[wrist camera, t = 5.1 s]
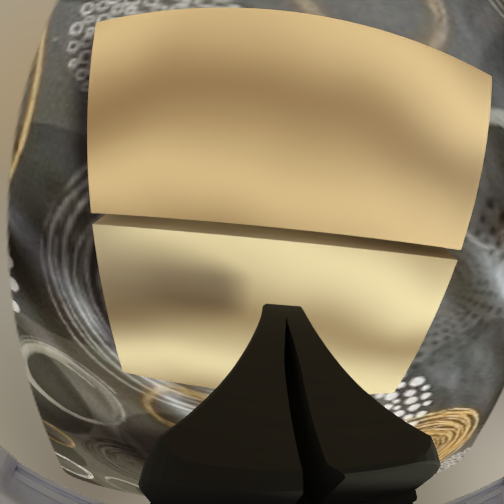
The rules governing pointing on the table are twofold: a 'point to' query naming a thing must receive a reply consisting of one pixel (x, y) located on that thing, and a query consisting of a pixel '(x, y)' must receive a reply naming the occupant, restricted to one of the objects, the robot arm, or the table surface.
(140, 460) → the table surface
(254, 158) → the laid oak board
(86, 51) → the table surface
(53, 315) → the table surface
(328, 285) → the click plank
